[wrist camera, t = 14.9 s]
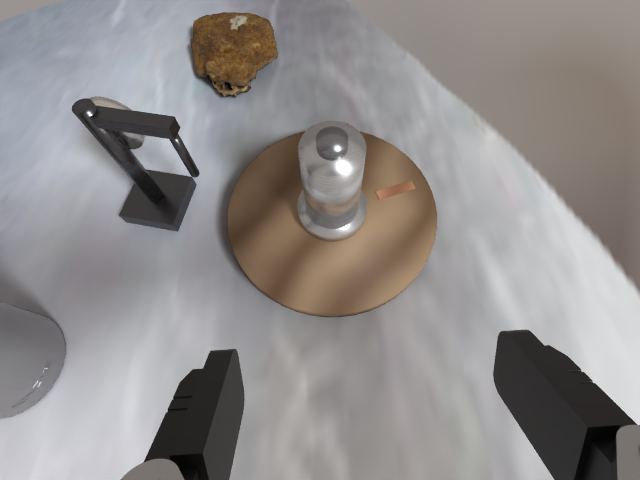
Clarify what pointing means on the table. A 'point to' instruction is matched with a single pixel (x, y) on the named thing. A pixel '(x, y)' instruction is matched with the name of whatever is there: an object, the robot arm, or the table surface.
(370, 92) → the table surface
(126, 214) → the stand
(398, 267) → the disc
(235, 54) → the decorative rock
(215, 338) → the table surface
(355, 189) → the cover
